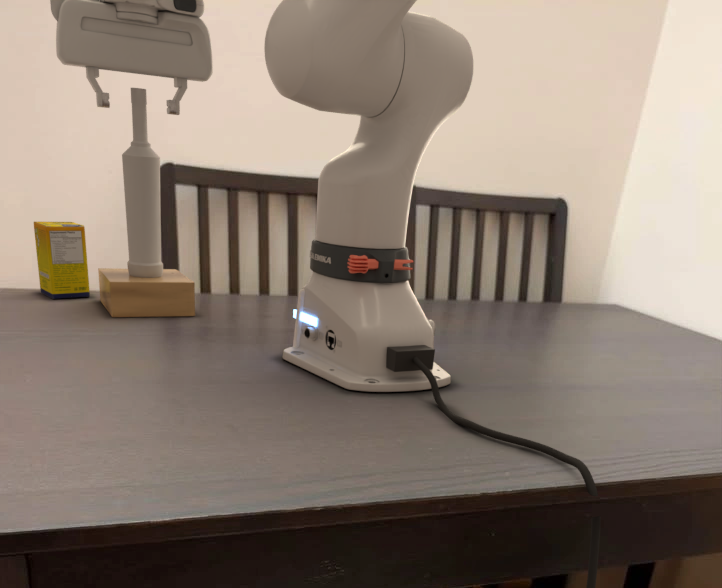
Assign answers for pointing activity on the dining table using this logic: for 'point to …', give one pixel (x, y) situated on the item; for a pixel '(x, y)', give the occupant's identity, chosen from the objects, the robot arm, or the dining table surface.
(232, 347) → the dining table surface
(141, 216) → the bottle
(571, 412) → the dining table surface
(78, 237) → the supplement box
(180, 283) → the block
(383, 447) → the dining table surface
